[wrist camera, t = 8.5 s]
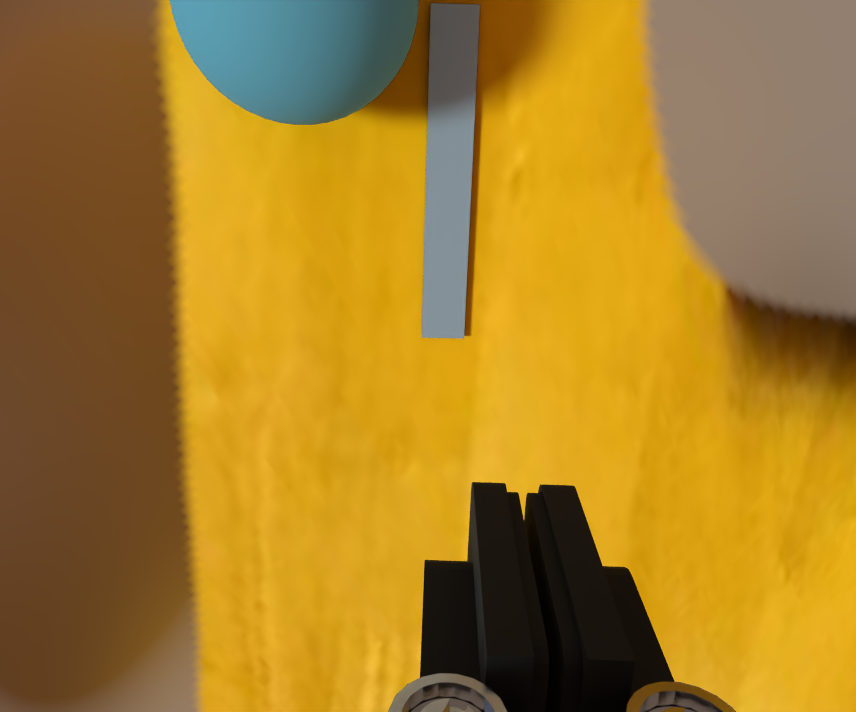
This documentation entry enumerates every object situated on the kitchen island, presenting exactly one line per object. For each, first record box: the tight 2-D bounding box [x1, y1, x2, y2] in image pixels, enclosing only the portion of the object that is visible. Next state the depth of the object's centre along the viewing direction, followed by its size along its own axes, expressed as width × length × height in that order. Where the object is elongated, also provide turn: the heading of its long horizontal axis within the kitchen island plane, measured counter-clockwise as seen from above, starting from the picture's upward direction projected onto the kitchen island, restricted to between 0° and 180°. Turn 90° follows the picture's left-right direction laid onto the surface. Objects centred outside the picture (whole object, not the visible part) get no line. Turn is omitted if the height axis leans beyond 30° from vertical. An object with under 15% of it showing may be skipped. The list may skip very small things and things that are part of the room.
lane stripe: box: [422, 3, 480, 338], centre depth 22 cm, size 10×1×1 cm, turn 178°
